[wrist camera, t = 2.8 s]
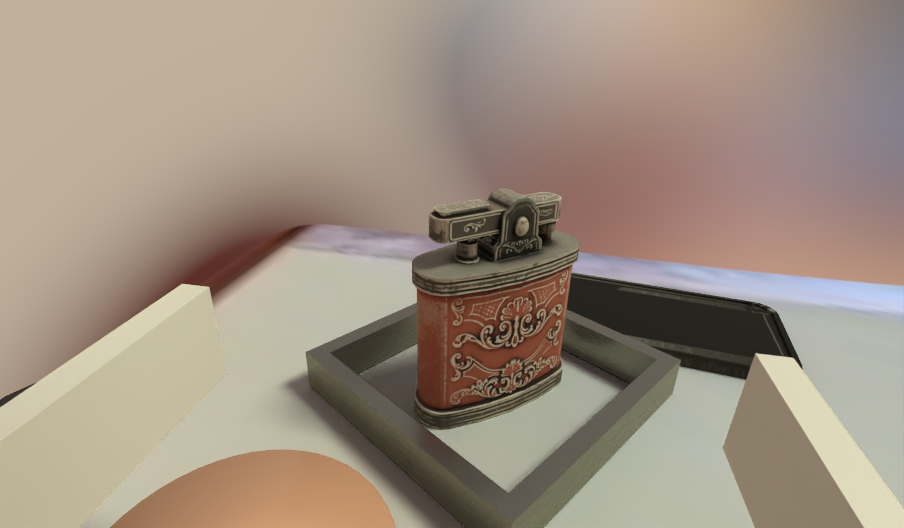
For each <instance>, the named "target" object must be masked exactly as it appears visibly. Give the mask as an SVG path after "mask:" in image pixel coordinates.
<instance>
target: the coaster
mask: <svg viewBox="0 0 904 528" xmlns="http://www.w3.org/2000/svg"><path fill="white" fill-rule="evenodd" d="M110 528H395V525H394V521H393V519H392V516H391V514H390V511H389V509H388V507H387V505H386V503H385V502H384V500H383V499H382V497H381V495H380V494H379V492H378V491H377V490H376V489H375V488H374V487H373V485H372V484H371V483H370V482H369V481H368V480H367V479H366V478H364V477H363V476H362V475H361V474H360V473H359V472H357V471H356V470H354V469H352V468H351V467H349V466H348V465H346V464H344V463H342V462H339V461H337V460H335V459H333V458H330V457H327V456H323V455H320V454H316V453H311V452H305V451H297V450H267V451H259V452H251V453H247V454H242V455H237V456H233V457H230V458H226V459H223V460H220V461H216V462H214V463H211V464H208V465H206V466H203V467H201V468H198V469H196V470H194V471H192V472H190V473H188V474H186V475H183V476H181V477H179V478H177V479H176V480H174V481H172V482H170V483H169V484H167V485H165V486H164V487H162V488H160V489H159V490H157V491H156V492H154V493H153V494H151V495H150V496H148V497H147V498H145V499H144V500H142V501H141V502H140V503H138V504H137V505H136V506H135V507H133V508H132V509H131V510H130V511H128V512H127V513H126V514H125V515H123V516H122V517H121V518H120V519H119V520H118V521H117V522H116V523H115V524H114V525H113V526H111V527H110Z"/></svg>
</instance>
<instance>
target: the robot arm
mask: <svg viewBox="0 0 904 528" xmlns="http://www.w3.org/2000/svg"><path fill="white" fill-rule="evenodd" d="M225 375H226V370H225V365H224V360H223V355H222V350H221V345H220V340H219V335H218V330H217V325H216V320H215V315H214V310H213V305H212V299H211V294H210V289H209V287H204V286H195V285H187V284H182V285H180V286H179V287H177V288H176V289H174V290H173V291H171V292H170V293H168V294H167V295H165V296H164V297H162V298H161V299H159V300H158V301H157V302H155V303H154V304H152V305H151V306H149V307H148V308H146V309H145V310H143V311H142V312H140V313H139V314H137V315H136V316H134V317H133V318H132V319H130V320H129V321H127V322H125V323H124V324H123V325H121V326H120V327H118V328H117V329H115V330H114V331H112V332H111V333H109V334H108V335H106V336H105V337H103V338H102V339H101V340H99V341H98V342H96V343H95V344H93V345H92V346H90V347H89V348H87V349H86V350H84V351H83V352H81V353H80V354H79V355H77V356H75V357H74V358H72V359H71V360H69V361H68V362H66V363H65V364H64V365H62V366H61V367H59V368H58V369H56V370H55V371H53V372H52V373H50V374H49V375H47V376H46V377H44V378H43V379H41V380H40V381H38V382H36V383H34V384H32V385H30V386H28V387H25V388H23V389H21V390H19V391H16V392H14V393H12V394H10V395H7V396H5V397H4V398H2V399H1V400H0V528H79V527H80V526H81V525H82V524H83V523H84V522H85V521H86V520H87V519H88V518H89V517H90V515H91V514H92V513H93V512H94V511H95V510H96V509H97V508H98V507H99V506H100V505H101V504H102V503H103V502H104V501H105V500H106V499H107V498H108V497H109V496H110V495H111V494H112V493H113V492H114V490H115V489H116V488H117V487H118V486H119V485H120V484H121V483H122V482H123V481H124V480H125V479H126V478H127V477H128V476H129V475H130V474H131V473H132V472H133V471H134V470H135V469H136V468H137V466H138V465H139V464H140V463H141V462H142V461H143V460H144V459H145V458H146V457H147V456H148V455H149V454H150V453H151V452H152V451H153V450H154V449H155V448H156V447H157V446H158V445H159V444H160V442H161V441H162V440H163V439H164V438H165V437H166V436H167V435H168V434H169V433H170V432H171V431H172V430H173V429H174V428H175V427H176V426H177V425H178V424H179V423H180V422H181V421H182V420H183V419H184V417H185V416H186V415H187V414H188V413H189V412H190V411H191V410H192V409H193V408H194V407H195V406H196V405H197V404H198V403H199V402H200V401H201V400H202V399H203V398H204V397H205V396H206V395H207V393H208V392H209V391H210V390H211V389H212V388H213V387H214V386H215V385H216V384H217V383H218V382H219V381H220V380H221V379H222V378H223V377H224V376H225ZM723 449H724V452H725V454H726V457H727V459H728V462H729V464H730V467H731V469H732V472H733V474H734V477H735V479H736V482H737V484H738V487H739V489H740V492H741V494H742V497H743V499H744V501H745V504H746V506H747V509H748V511H749V514H750V516H751V519H752V521H753V524H754V526H755V528H904V508H903V507H902V506H901V504H900V503H899V502H898V500H897V499H896V498H895V496H894V495H893V493H892V492H891V491H890V489H889V488H888V487H887V485H886V484H885V482H884V481H883V480H882V478H881V477H880V476H879V474H878V473H877V472H876V470H875V469H874V467H873V466H872V465H871V463H870V462H869V461H868V459H867V458H866V456H865V455H864V454H863V452H862V451H861V450H860V448H859V447H858V446H857V444H856V443H855V441H854V440H853V439H852V437H851V436H850V435H849V433H848V432H847V430H846V429H845V428H844V426H843V425H842V424H841V422H840V421H839V420H838V418H837V417H836V415H835V414H834V413H833V411H832V410H831V409H830V407H829V406H828V405H827V403H826V402H825V400H824V399H823V398H822V396H821V395H820V394H819V392H818V391H817V389H816V388H815V387H814V385H813V384H812V383H811V381H810V380H809V379H808V377H807V376H806V374H805V373H804V372H803V370H802V369H801V368H800V366H799V365H798V363H797V362H796V361H795V359H794V358H790V357H782V356H774V355H766V354H757V353H755V356H754V359H753V362H752V364H751V367H750V370H749V373H748V376H747V379H746V382H745V385H744V388H743V391H742V394H741V397H740V399H739V402H738V405H737V408H736V411H735V414H734V417H733V420H732V423H731V426H730V429H729V432H728V435H727V437H726V440H725V443H724V446H723Z"/></svg>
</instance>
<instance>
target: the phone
mask: <svg viewBox="0 0 904 528" xmlns="http://www.w3.org/2000/svg"><path fill="white" fill-rule="evenodd" d="M567 310H569V311H571V312H574V313H576V314H578V315H580V316H583V317H585V318H587V319H589V320H592V321H594V322H596V323H598V324H601V325H603V326H605V327H608V328H610V329H612V330H614V331H617V332H619V333H621V334H623V335H626V336H628V337H630V338H632V339H635V340H637V341H639V342H641V343H644V344H646V345H648V346H651V347H653V348H655V349H657V350H660V351H662V352H664V353H666V354H669V355H671V356H673V357H675V358H678V359H680V360H681V362H680V366H683V367H688V368H693V369H698V370H703V371H708V372H713V373H718V374H723V375H728V376H733V377H738V378H743V379H747V376H748V373H749V370H750V367H751V364H752V362H753V359H754V356H755V353H757V354H766V355H774V356H782V357H790V358H794V359H795V361H796V362H797V363H798V365H799V366H800V368H801V369H803V368H802V364H801V362H800V360H799V358H798V356H797V353H796V351H795V349H794V347H793V345H792V343H791V340H790V338H789V336H788V334H787V332H786V330H785V328H784V325H783V323H782V321H781V319H780V317H779V315H778V313H777V312H776V311H775V310H773V309H772V308H770V307H768V306H766V305H763V304H760V303H755V302H750V301H744V300H737V299H731V298H725V297H719V296H713V295H706V294H700V293H694V292H688V291H682V290H676V289H669V288H663V287H657V286H651V285H645V284H639V283H632V282H626V281H620V280H614V279H608V278H602V277H595V276H589V275H583V274H577V273H571V280H570V287H569V295H568V302H567Z"/></svg>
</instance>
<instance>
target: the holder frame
mask: <svg viewBox="0 0 904 528" xmlns="http://www.w3.org/2000/svg"><path fill="white" fill-rule="evenodd" d="M417 343H418V337H417V303H415V304H413V305H411V306H409V307H406V308H404V309H402V310H400V311H397V312H395V313H393V314H391V315H388V316H386V317H384V318H382V319H379V320H377V321H375V322H373V323H370V324H368V325H366V326H364V327H361V328H359V329H357V330H355V331H352V332H350V333H348V334H346V335H343V336H341V337H339V338H337V339H334V340H332V341H330V342H328V343H325V344H323V345H321V346H319V347H316V348H314V349H312V350H310V351H307V352H306V358H307V366H308V374H309V382H310V386H311V387H312V388H313V389H314V390H315V391H316V392H317V393H318V394H319V395H321V396H322V397H323V398H324V399H325V400H326V401H327V402H328V403H329V404H330V405H332V406H333V407H334V408H335V409H336V410H337V411H338V412H339V413H340V414H342V415H343V416H344V417H345V418H346V419H347V420H348V421H349V422H350V423H351V424H353V425H354V426H355V427H356V428H357V429H358V430H359V431H360V432H361V433H363V434H364V435H365V436H366V437H367V438H368V439H369V440H370V441H371V442H372V443H374V444H375V445H376V446H377V447H378V448H379V449H380V450H381V451H382V452H384V453H385V454H386V455H387V456H388V457H389V458H390V459H391V460H392V461H393V462H395V463H396V464H397V465H398V466H399V467H400V468H401V469H402V470H403V471H405V472H406V473H407V474H408V475H409V476H410V477H411V478H412V479H413V480H414V481H416V482H417V483H418V484H419V485H420V486H421V487H422V488H423V489H424V490H425V491H427V492H428V493H429V494H430V495H431V496H432V497H433V498H434V499H435V500H437V501H438V502H439V503H440V504H441V505H442V506H443V507H444V508H445V509H446V510H448V511H449V512H450V513H451V514H452V515H453V516H454V517H455V518H456V519H458V520H459V521H460V522H461V523H462V524H463V525H464V526H465V527H466V528H544V527H545V526H546V525H547V524H548V522H549V521H550V520H551V519H552V518H553V517H554V516H555V515H556V514H557V513H558V512H559V511H560V510H561V509H562V508H563V507H564V506H565V505H566V504H567V503H568V502H569V501H570V500H571V499H572V497H573V496H574V495H575V494H576V493H577V492H578V491H579V490H580V489H581V488H582V487H583V486H584V485H585V484H586V483H587V482H588V481H589V480H590V479H591V478H592V477H593V476H594V475H595V474H596V472H597V471H598V470H599V469H600V468H601V467H602V466H603V465H604V464H605V463H606V462H607V461H608V460H609V459H610V458H611V457H612V456H613V455H614V454H615V453H616V452H617V451H618V450H619V449H620V447H621V446H622V445H623V444H624V443H625V442H626V441H627V440H628V439H629V438H630V437H631V436H632V435H633V434H634V433H635V432H636V431H637V430H638V429H639V428H640V427H641V426H642V425H643V424H644V422H645V421H646V420H647V419H648V418H649V417H650V416H651V415H652V414H653V413H654V412H655V411H656V410H657V409H658V408H659V407H660V406H661V405H662V404H663V403H664V402H665V401H666V400H667V399H668V397H669V396H670V395H671V394H672V393H673V389H674V385H675V381H676V377H677V374H678V370H679V366H680V362H681V360H680V359H678V358H675V357H673V356H671V355H669V354H666V353H664V352H662V351H660V350H657V349H655V348H653V347H651V346H648V345H646V344H644V343H641V342H639V341H637V340H635V339H632V338H630V337H628V336H626V335H623V334H621V333H619V332H617V331H614V330H612V329H610V328H608V327H605V326H603V325H601V324H598V323H596V322H594V321H592V320H589V319H587V318H585V317H583V316H580V315H578V314H576V313H574V312H571V311H569V310H566V317H565V325H564V332H563V340H562V347H561V349H563V350H565V351H567V352H569V353H571V354H573V355H575V356H577V357H579V358H581V359H583V360H585V361H587V362H589V363H591V364H593V365H595V366H597V367H599V368H601V369H603V370H605V371H607V372H609V373H611V374H613V375H615V376H617V377H619V378H621V379H623V380H625V381H627V382H629V383H631V384H629V385H628V386H627V387H626V388H625V389H624V390H623V391H622V392H621V393H619V394H618V395H617V396H616V397H615V398H614V399H613V400H612V401H611V402H610V403H608V404H607V405H606V406H605V407H604V408H603V409H602V410H601V411H600V412H598V413H597V414H596V415H595V416H594V417H593V418H592V419H591V420H590V421H588V422H587V423H586V424H585V425H584V426H583V427H582V428H581V429H580V430H578V431H577V432H576V433H575V434H574V435H573V436H572V437H571V438H570V439H569V440H567V441H566V442H565V443H564V444H563V445H562V446H561V447H560V448H559V449H557V450H556V451H555V452H554V453H553V454H552V455H551V456H550V457H549V458H547V459H546V460H545V461H544V462H543V463H542V464H541V465H540V466H539V467H537V468H536V469H535V470H534V471H533V472H532V473H531V474H530V475H529V476H527V477H526V478H525V479H524V480H523V481H522V482H521V483H520V484H519V485H518V486H516V487H515V488H514V489H513V490H512V491H511V492H510V493H507V492H506V491H505V490H503V489H502V488H501V487H500V486H498V485H497V484H496V483H495V482H493V481H492V480H491V479H489V478H488V477H487V476H486V475H484V474H483V473H482V472H481V471H479V470H478V469H477V468H475V467H474V466H473V465H472V464H470V463H469V462H468V461H467V460H465V459H464V458H463V457H461V456H460V455H459V454H458V453H456V452H455V451H454V450H453V449H451V448H450V447H449V446H448V445H446V444H445V443H444V442H442V441H441V440H440V439H439V438H437V437H436V436H435V435H434V434H432V433H431V432H430V431H428V430H427V429H426V428H425V427H423V426H422V425H421V424H420V423H418V422H417V421H416V420H414V419H413V418H412V417H411V416H409V415H408V414H407V413H406V412H404V411H403V410H402V409H400V408H399V407H398V406H397V405H395V404H394V403H393V402H392V401H390V400H389V399H388V398H386V397H385V396H384V395H383V394H381V393H380V392H379V391H378V390H376V389H375V388H374V387H373V386H371V385H370V384H369V383H367V382H366V381H365V380H364V379H362V378H361V377H360V376H359V375H357V374H358V373H360V372H362V371H364V370H366V369H368V368H370V367H372V366H374V365H376V364H378V363H380V362H382V361H384V360H386V359H388V358H389V357H391V356H393V355H395V354H397V353H399V352H401V351H403V350H405V349H407V348H409V347H411V346H413V345H415V344H417Z"/></svg>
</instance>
